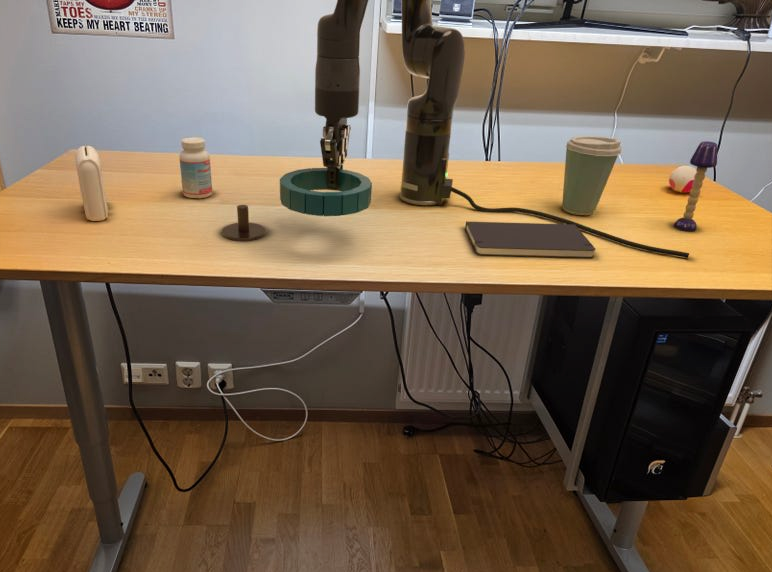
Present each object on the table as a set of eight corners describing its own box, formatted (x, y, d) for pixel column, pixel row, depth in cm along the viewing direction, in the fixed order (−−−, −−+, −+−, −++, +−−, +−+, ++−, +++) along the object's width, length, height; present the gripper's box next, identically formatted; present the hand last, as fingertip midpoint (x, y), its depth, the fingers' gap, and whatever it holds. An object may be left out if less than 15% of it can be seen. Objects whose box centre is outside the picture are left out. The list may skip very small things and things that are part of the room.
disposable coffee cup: (543, 209, 138) (558, 136, 130) (567, 198, 144) (583, 128, 136) (590, 223, 132) (609, 147, 124) (613, 211, 138) (632, 138, 130)
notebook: (573, 232, 127) (464, 229, 126) (575, 224, 126) (465, 221, 126) (595, 258, 116) (476, 255, 116) (597, 250, 116) (477, 246, 115)
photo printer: (84, 204, 130) (72, 141, 124) (107, 203, 131) (96, 140, 125) (85, 222, 122) (73, 155, 115) (109, 220, 123) (98, 154, 117)
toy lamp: (684, 233, 129) (712, 147, 120) (665, 225, 132) (690, 140, 123) (700, 229, 131) (729, 144, 122) (681, 222, 134) (707, 138, 125)
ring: (377, 191, 119) (378, 172, 118) (360, 220, 106) (361, 199, 105) (294, 183, 122) (294, 164, 120) (268, 210, 109) (268, 189, 107)
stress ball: (676, 210, 150) (699, 191, 145) (654, 183, 152) (676, 163, 147) (692, 202, 154) (715, 184, 149) (671, 176, 156) (693, 157, 151)
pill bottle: (206, 200, 135) (201, 145, 129) (178, 197, 136) (172, 142, 130) (217, 191, 140) (213, 137, 134) (190, 188, 141) (185, 135, 135)
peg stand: (271, 227, 123) (270, 201, 121) (257, 243, 117) (256, 216, 114) (231, 223, 125) (229, 197, 122) (215, 238, 118) (213, 211, 115)
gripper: (350, 94, 104) (346, 200, 113) (366, 80, 116) (362, 177, 125) (304, 90, 105) (304, 195, 114) (325, 77, 117) (323, 174, 126)
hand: (334, 186), depth 120 cm, fingers closed on ring, 2 cm apart
